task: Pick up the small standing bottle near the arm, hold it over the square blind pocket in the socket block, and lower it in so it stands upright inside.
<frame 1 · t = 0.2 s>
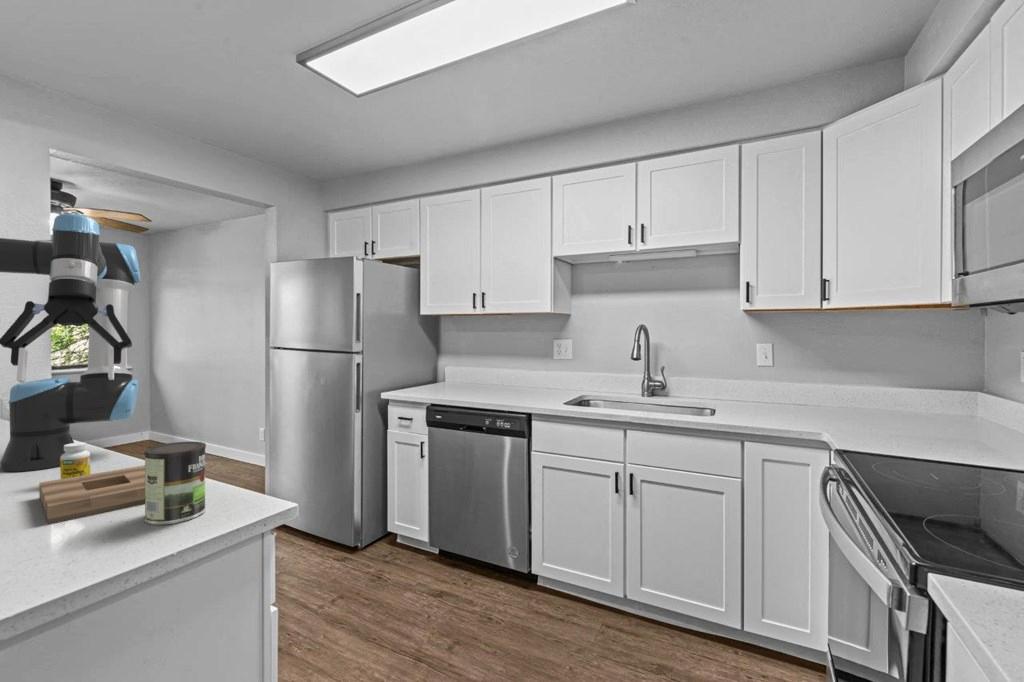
hand: (67, 380, 97), 27 cm above the worktop, tool tilted 20°, fingers open, 13 cm apart
coffee can: (176, 515, 97), on the worktop
supplement bottle: (75, 484, 115), on the worktop
socket block: (106, 498, 106), on the worktop
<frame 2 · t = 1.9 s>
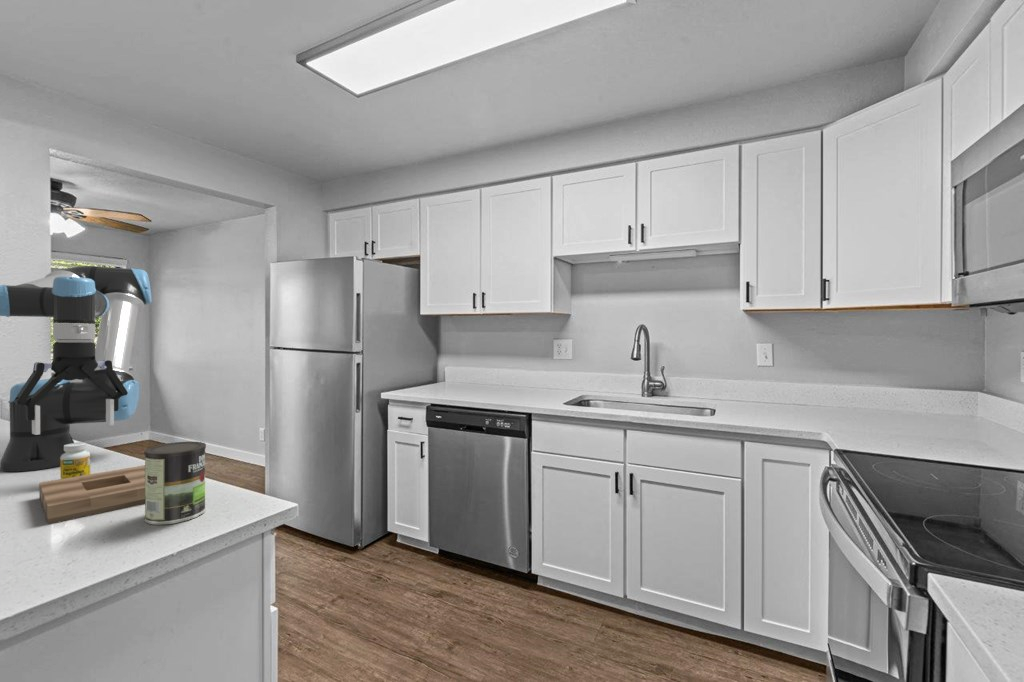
hand: (74, 429, 114), 13 cm above the worktop, tool pointing down, fingers open, 13 cm apart
nothing on the worktop moved.
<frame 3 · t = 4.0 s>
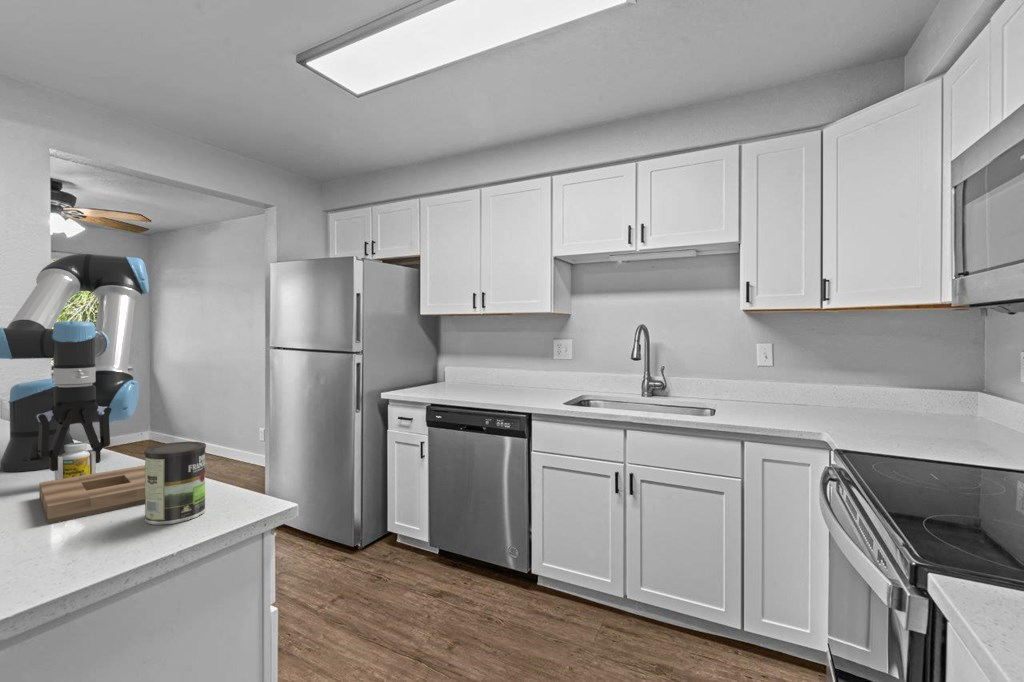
hand: (75, 479, 115), 1 cm above the worktop, tool pointing down, fingers closed on supplement bottle, 5 cm apart
supplement bottle: (75, 484, 115), on the worktop, touching gripper
everything else where it was.
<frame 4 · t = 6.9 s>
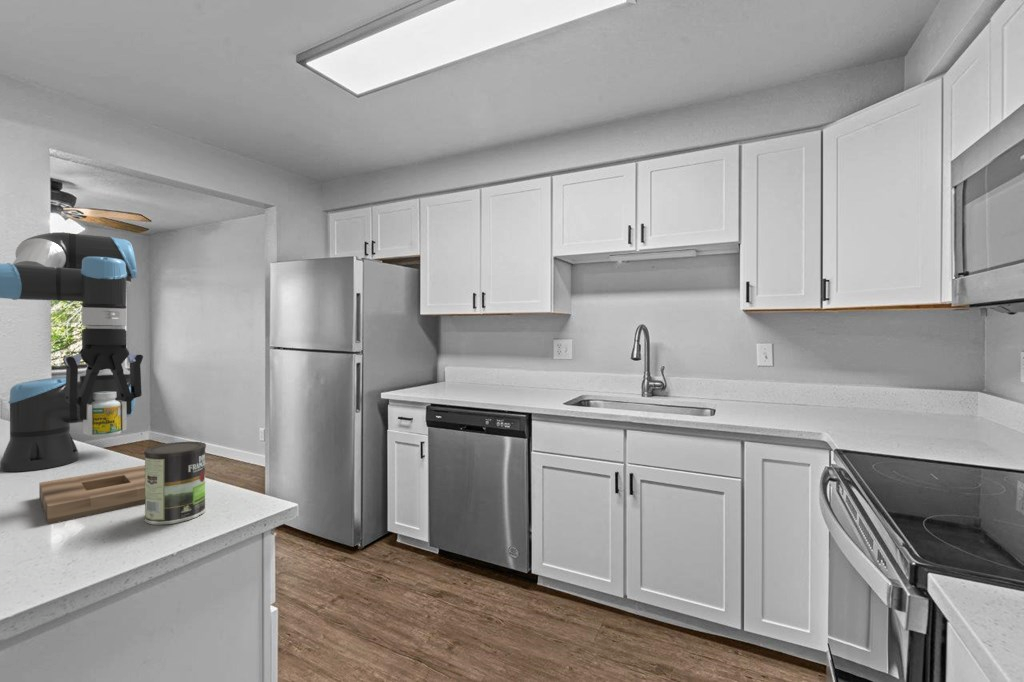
hand: (105, 431, 105), 15 cm above the worktop, tool pointing down, fingers closed on supplement bottle, 5 cm apart
supplement bottle: (105, 436, 105), point 14 cm above the worktop, touching gripper
everything else where it was.
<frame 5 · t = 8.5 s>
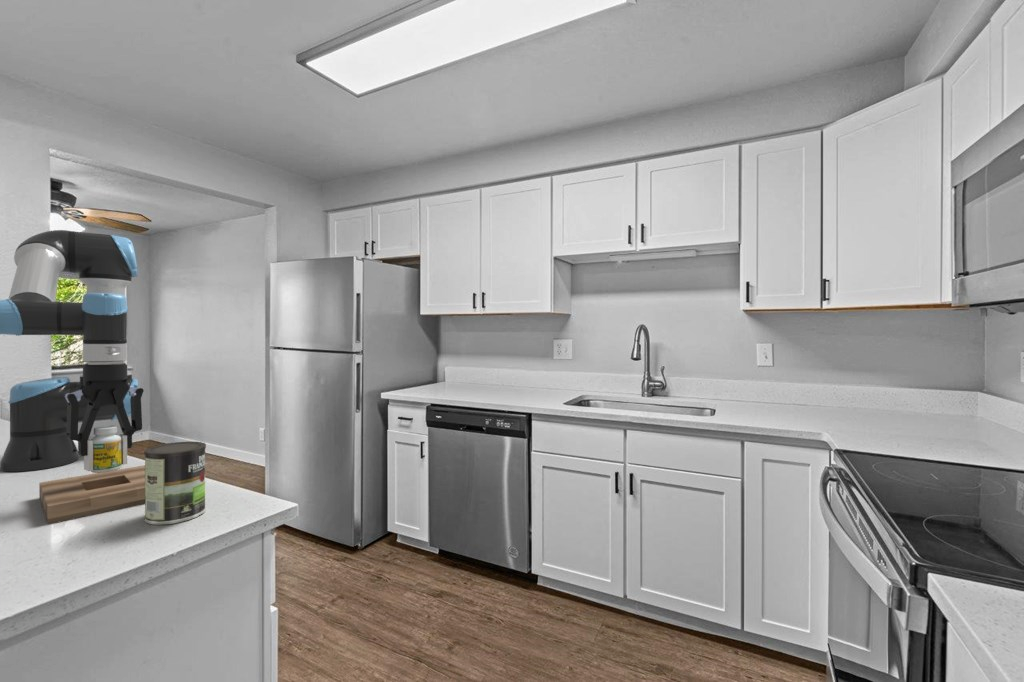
hand: (106, 466, 105), 7 cm above the worktop, tool pointing down, fingers closed on supplement bottle, 5 cm apart
supplement bottle: (106, 470, 105), point 6 cm above the worktop, touching gripper
everything else where it was.
when the fingers open (4 cm above the worktop, at t = 9.7 s): supplement bottle drops 2 cm, resting on socket block.
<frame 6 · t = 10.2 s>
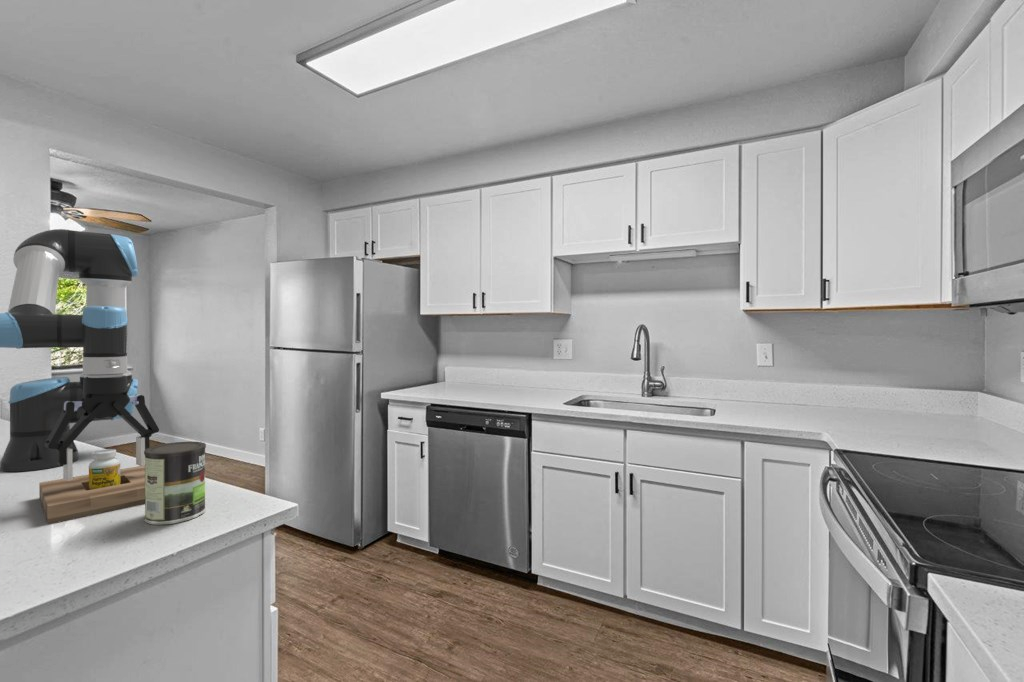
hand: (106, 471, 106), 6 cm above the worktop, tool pointing down, fingers open, 12 cm apart
supplement bottle: (104, 494, 106), point 1 cm above the worktop, touching socket block
everything else where it was.
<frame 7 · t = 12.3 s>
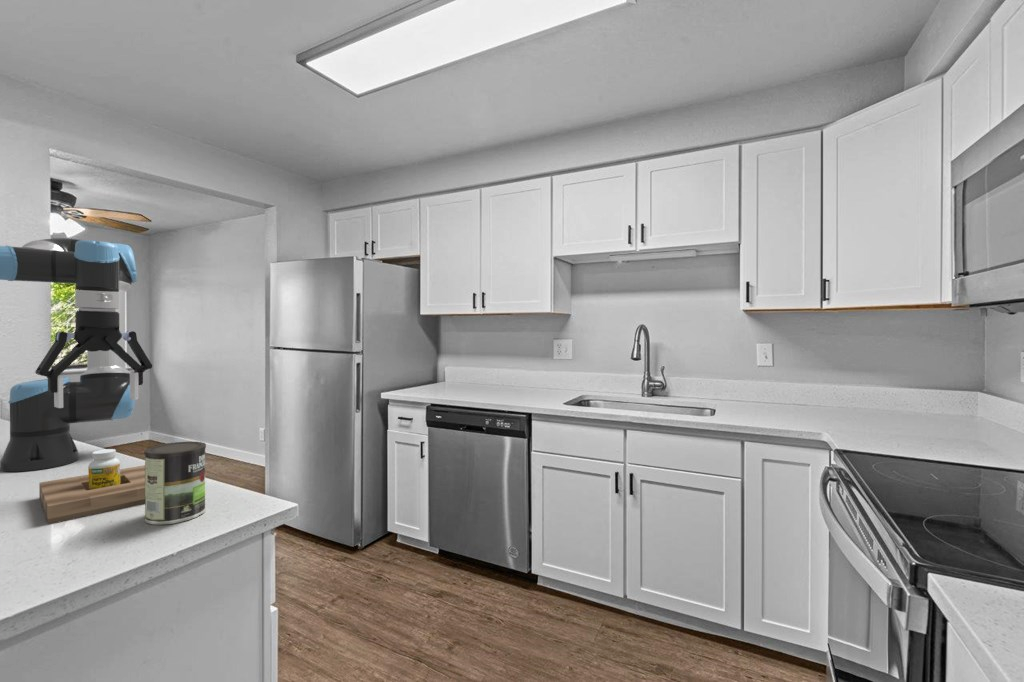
hand: (98, 403, 108), 21 cm above the worktop, tool pointing down, fingers open, 13 cm apart
nothing on the worktop moved.
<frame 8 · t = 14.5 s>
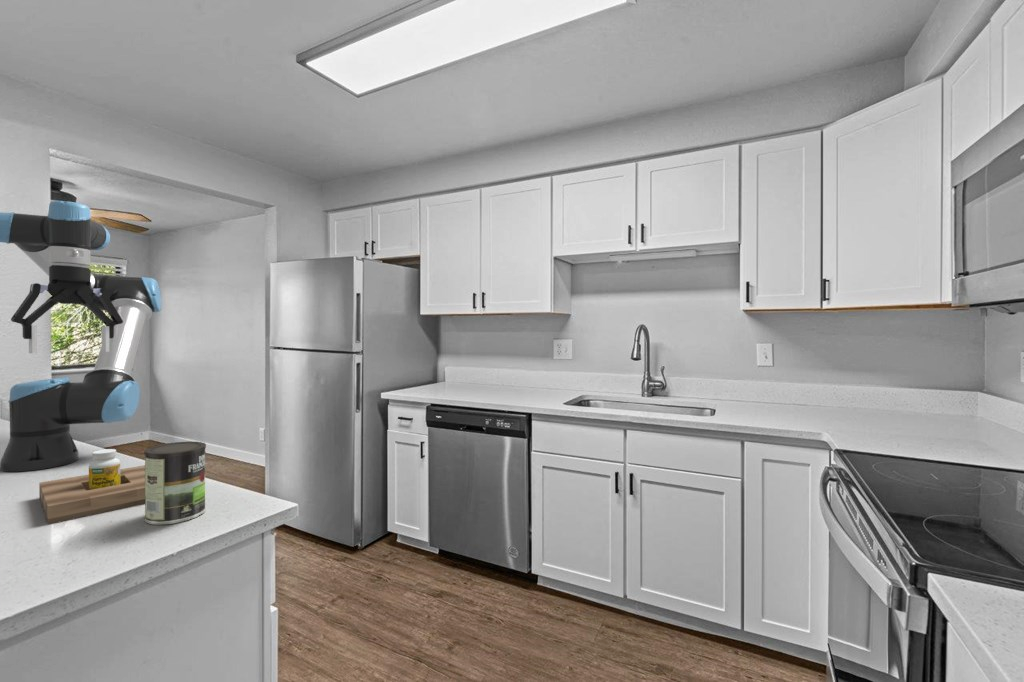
hand: (70, 352, 117), 32 cm above the worktop, tool pointing down, fingers open, 13 cm apart
nothing on the worktop moved.
at the end: supplement bottle 0.2 cm off-centre on the socket block, point 0.8 cm above the socket block's base; supplement bottle tilted 0°; the gripper is holding nothing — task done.
